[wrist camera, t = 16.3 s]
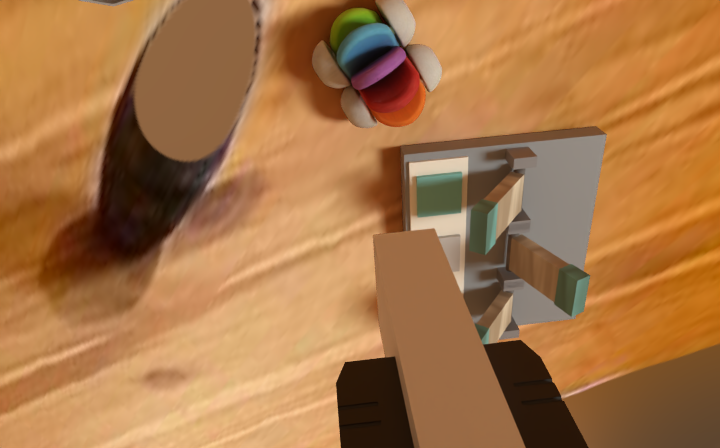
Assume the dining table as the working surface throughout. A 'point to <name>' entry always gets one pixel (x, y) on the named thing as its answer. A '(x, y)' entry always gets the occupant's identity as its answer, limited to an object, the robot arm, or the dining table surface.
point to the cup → (107, 2)
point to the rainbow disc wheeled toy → (377, 65)
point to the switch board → (536, 221)
